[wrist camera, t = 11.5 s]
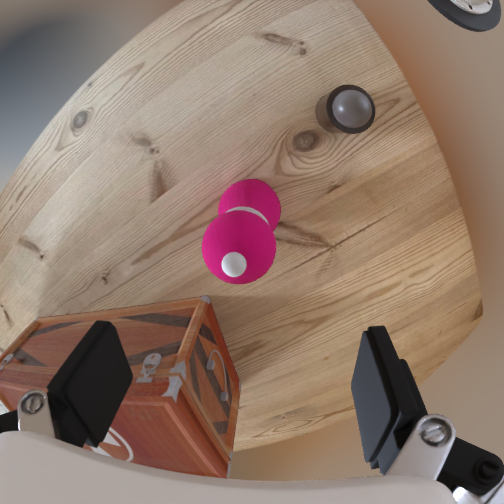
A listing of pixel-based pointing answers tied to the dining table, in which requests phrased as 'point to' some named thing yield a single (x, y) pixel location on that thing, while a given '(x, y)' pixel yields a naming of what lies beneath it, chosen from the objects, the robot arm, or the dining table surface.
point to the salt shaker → (346, 110)
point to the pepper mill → (243, 233)
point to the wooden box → (147, 382)
